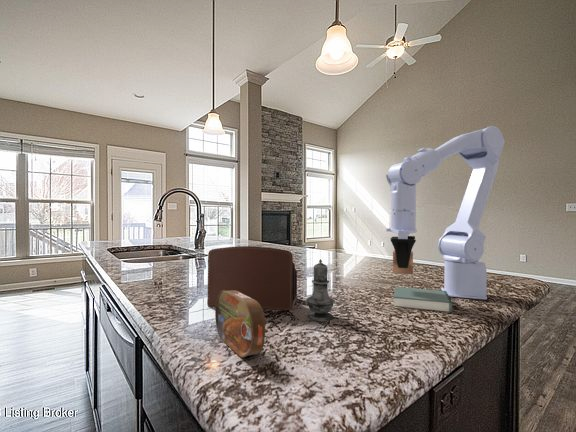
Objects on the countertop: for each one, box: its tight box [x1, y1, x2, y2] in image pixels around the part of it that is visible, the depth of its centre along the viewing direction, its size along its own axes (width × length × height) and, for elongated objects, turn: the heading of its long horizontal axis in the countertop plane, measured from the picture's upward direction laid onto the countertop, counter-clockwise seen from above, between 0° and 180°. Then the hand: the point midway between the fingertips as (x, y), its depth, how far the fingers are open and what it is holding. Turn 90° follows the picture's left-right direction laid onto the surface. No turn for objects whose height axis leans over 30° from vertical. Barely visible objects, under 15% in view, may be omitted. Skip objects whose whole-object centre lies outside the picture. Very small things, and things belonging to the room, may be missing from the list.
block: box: [392, 249, 414, 275], centre depth 77 cm, size 4×4×5 cm
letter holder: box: [206, 245, 298, 311], centre depth 75 cm, size 10×20×14 cm, turn 82°
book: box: [393, 286, 453, 313], centre depth 74 cm, size 12×10×2 cm
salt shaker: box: [305, 259, 335, 323], centre depth 64 cm, size 6×6×12 cm
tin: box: [214, 290, 267, 358], centre depth 51 cm, size 15×3×8 cm, turn 32°
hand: (403, 266), depth 77 cm, fingers closed on block, 4 cm apart
